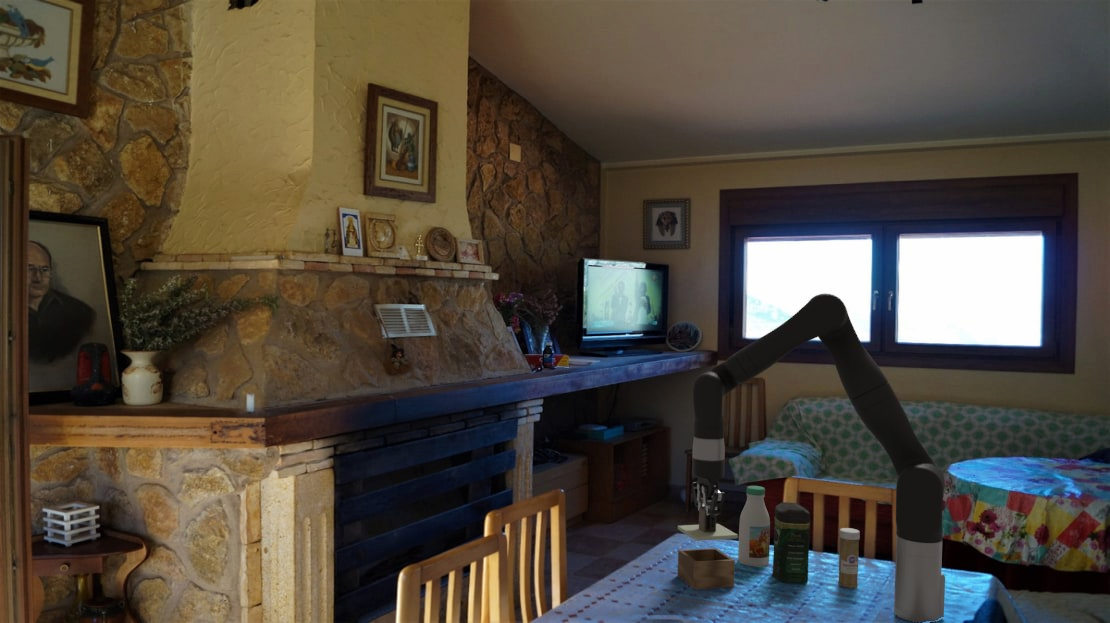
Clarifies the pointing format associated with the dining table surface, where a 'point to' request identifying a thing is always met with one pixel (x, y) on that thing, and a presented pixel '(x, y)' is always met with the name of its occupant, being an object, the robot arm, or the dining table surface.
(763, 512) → the milk bottle
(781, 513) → the coffee jar
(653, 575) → the dining table surface
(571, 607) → the dining table surface
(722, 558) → the box
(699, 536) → the lid
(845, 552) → the sprinkles bottle
